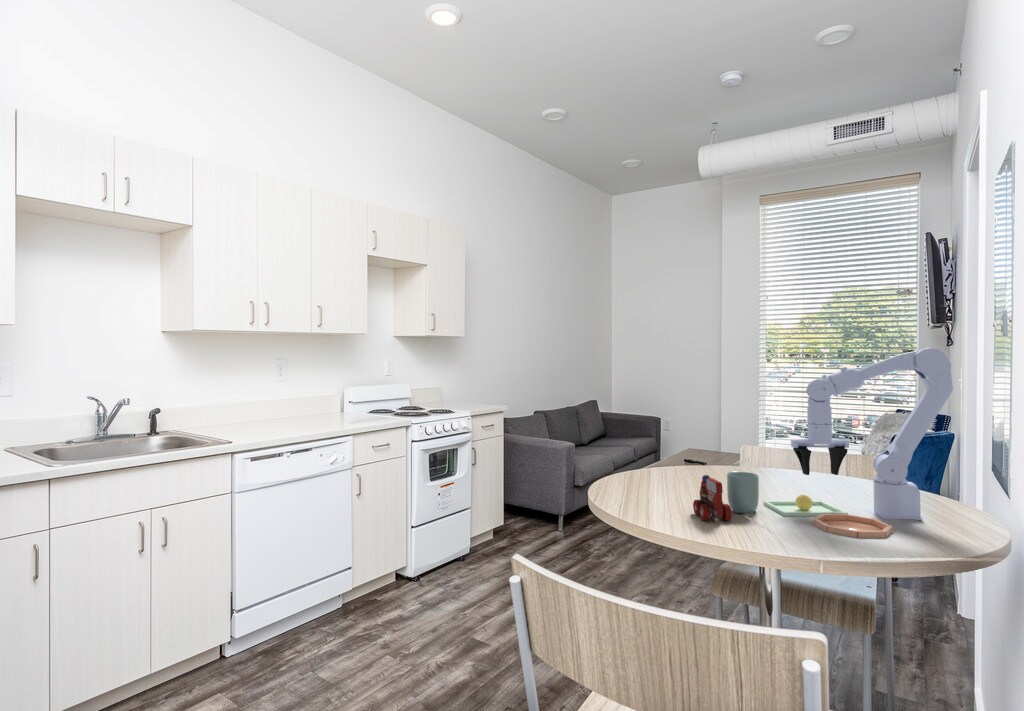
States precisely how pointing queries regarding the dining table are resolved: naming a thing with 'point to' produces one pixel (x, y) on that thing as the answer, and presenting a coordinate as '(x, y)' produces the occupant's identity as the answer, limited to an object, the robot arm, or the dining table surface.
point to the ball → (804, 502)
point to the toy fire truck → (711, 501)
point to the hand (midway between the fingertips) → (820, 474)
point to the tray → (792, 510)
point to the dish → (853, 525)
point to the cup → (743, 491)
